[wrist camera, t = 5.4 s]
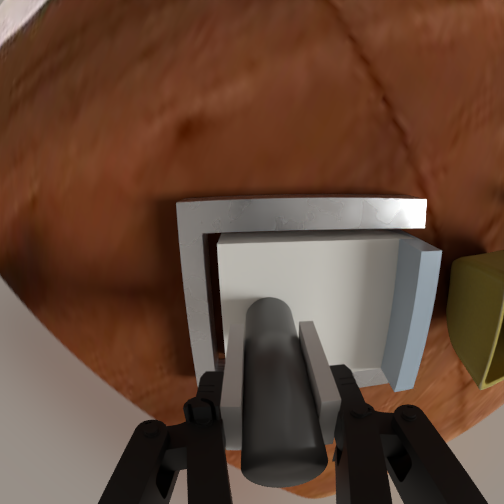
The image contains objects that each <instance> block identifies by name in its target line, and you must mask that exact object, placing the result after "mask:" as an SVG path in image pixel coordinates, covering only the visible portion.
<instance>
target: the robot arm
mask: <svg viewBox="0 0 504 504" xmlns="http://www.w3.org/2000/svg"><path fill="white" fill-rule="evenodd" d="M298 339H299V343H300V347H301V351H302V354H303V358H304V362H305V366H306V370H307V374H308V378H309V382H310V386H311V390H312V394H313V398H314V402H315V406H316V411H317V415H318V419H319V423H320V427H321V431H322V436H323V440H324V444H325V445H326V444H333V440H334V437H335V441H336V448H335V452H334V456H333V460H332V461H335V470H336V504H392V498H391V492H390V486H389V480H388V474H387V471H388V473H389V475H390V477H391V479H392V481H393V483H394V485H395V487H396V489H397V491H398V493H399V495H400V496H401V499H402V501H403V503H404V504H488V503H487V501H486V500H485V498H484V497H483V495H482V494H481V492H480V491H479V489H478V488H477V487H476V485H475V484H474V482H473V481H472V479H471V478H470V476H469V475H468V473H467V472H466V471H465V469H464V468H463V466H462V465H461V463H460V462H459V461H458V459H457V458H456V456H455V455H454V454H453V452H452V451H451V449H450V448H449V447H448V445H447V444H446V442H445V441H444V440H443V438H442V437H441V436H440V434H439V433H438V431H437V430H436V429H435V427H434V426H433V425H432V423H431V422H430V421H429V419H428V418H427V416H426V415H425V414H424V412H423V411H422V410H421V409H420V408H419V407H416V406H414V405H408V404H407V405H402V406H400V407H398V408H397V409H396V410H395V412H394V413H384V412H378V411H375V410H374V408H373V407H372V406H371V405H369V404H367V403H365V401H364V398H363V396H362V394H361V391H360V389H359V387H358V385H357V384H356V380H355V378H354V376H353V373H352V371H351V369H349V368H348V367H347V366H346V365H345V364H340V365H330V366H329V364H328V361H327V358H326V355H325V353H324V350H323V347H322V344H321V342H320V339H319V336H318V334H317V331H316V328H315V325H314V323H313V321H299V338H298ZM244 355H245V333H244V324H230V329H229V337H228V345H227V353H226V361H225V369H224V371H206V372H205V373H204V374H203V375H202V376H201V377H200V381H199V386H198V390H197V395H196V397H194V398H192V399H189V400H188V401H187V402H186V403H185V404H184V407H183V410H184V414H185V418H186V422H184V423H181V424H178V425H173V426H166V425H165V424H164V423H163V422H161V421H158V420H147V421H144V422H142V423H140V424H139V425H138V426H137V427H136V429H135V431H134V433H133V435H132V437H131V439H130V441H129V443H128V445H127V446H126V448H125V450H124V452H123V454H122V456H121V458H120V460H119V462H118V464H117V466H116V468H115V470H114V472H113V474H112V476H111V478H110V480H109V482H108V484H107V486H106V488H105V490H104V492H103V494H102V496H101V498H100V500H99V502H98V504H169V502H170V498H171V495H172V492H173V489H174V486H175V483H176V480H177V477H178V474H179V471H180V470H183V469H187V486H188V504H233V503H232V496H231V490H230V483H229V476H228V470H227V461H226V455H225V447H226V450H241V449H242V420H243V387H244Z"/></svg>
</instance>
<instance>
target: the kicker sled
mask: <svg viewBox="0 0 504 504" xmlns="http://www.w3.org/2000/svg"><path fill="white" fill-rule="evenodd" d="M217 254H218V269H219V283H220V297H221V310H222V322H223V334H224V346H225V357H226V353H227V345H228V337H229V329H230V324H244V333H245V355H244V387H243V420H242V449H241V471H242V473H243V475H244V476H245V477H246V478H247V479H248V480H249V481H251V482H253V483H255V484H258V485H262V486H266V487H276V488H281V487H291V486H296V485H300V484H303V483H306V482H308V481H310V480H312V479H314V478H316V477H317V476H318V475H320V474H321V473H322V472H323V471H324V470H325V468H326V466H327V464H328V457H327V452H326V448H325V444H324V440H323V436H322V431H321V427H320V423H319V419H318V415H317V411H316V406H315V402H314V398H313V394H312V390H311V386H310V382H309V378H308V374H307V370H306V366H305V362H304V358H303V354H302V351H301V347H300V343H299V339H298V338H299V321H313V323H314V325H315V328H316V331H317V334H318V336H319V339H320V342H321V344H322V347H323V350H324V353H325V355H326V358H327V361H328V364H329V366H330V365H340V364H345V365H346V366H347V367H348V368H349V369H351V371H352V372H356V371H364V370H372V369H379V368H381V370H382V371H383V373H384V375H385V376H386V378H387V380H388V382H389V383H390V385H391V387H392V389H393V391H394V392H398V391H403V390H408V389H413V386H414V383H415V380H416V376H417V373H418V369H419V366H420V362H421V358H422V355H423V351H424V347H425V343H426V339H427V334H428V330H429V326H430V321H431V316H432V311H433V306H434V301H435V295H436V290H437V284H438V277H439V271H440V263H441V256H442V250H440V249H438V248H436V247H434V246H432V245H430V244H428V243H426V242H424V241H422V240H420V239H418V238H416V237H414V236H412V235H410V234H408V233H406V232H404V231H402V230H400V229H376V230H321V231H282V232H249V233H221V236H220V238H219V240H218V243H217Z"/></svg>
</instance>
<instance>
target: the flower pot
mask: <svg viewBox="0 0 504 504" xmlns="http://www.w3.org/2000/svg"><path fill="white" fill-rule="evenodd" d="M446 315H447V326H448V332H449V337H450V340H451V343H452V346H453V348H454V350H455V352H456V354H457V355H458V357H459V358H460V360H461V361H462V363H463V364H464V366H465V367H466V369H467V371H468V372H469V374H470V375H471V377H472V378H473V380H474V381H475V383H476V384H477V386H478V388H479V389H480V390H483V389H486V388H488V387H490V386H492V385H494V384H496V383H498V382H500V381H502V380H504V250H500V251H495V252H490V253H485V254H479V255H473V256H466V257H461V258H458V259H456V260H454V261H453V263H452V266H451V276H450V286H449V295H448V302H447V308H446Z"/></svg>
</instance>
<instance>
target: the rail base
mask: <svg viewBox="0 0 504 504" xmlns="http://www.w3.org/2000/svg"><path fill="white" fill-rule="evenodd" d="M426 200H427V199H423V198H419V197H415V196H410V195H379V194H278V195H243V196H219V197H199V198H184V199H182V200H180V201H178V202H176V209H177V222H178V234H179V246H180V256H181V266H182V276H183V285H184V294H185V302H186V310H187V318H188V326H189V333H190V340H191V347H192V354H193V360H194V367H195V373H196V379H197V385H198V386H199V381H200V377H201V376H202V375H203V374H204V373H205V372H206V371H224V369H225V361H226V359H218V350H217V340H216V329H215V319H214V308H213V296H212V284H211V271H210V258H209V244H208V233H224V232H253V231H287V230H329V229H393V228H425V218H426ZM352 373H353V376H354V378H355V380H356V384H357V385H358V387H359V388H360V387H367V386H373V385H380V384H386V383H389V382H388V380H387V378H386V376H385V375H384V373H383V371H382V370H381V368H379V369H372V370H364V371H356V372H352Z"/></svg>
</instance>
